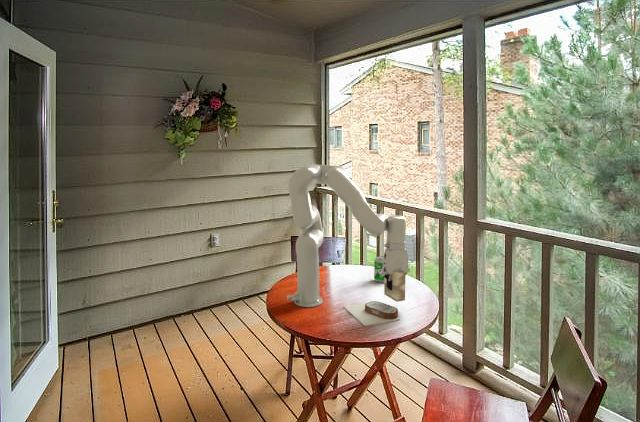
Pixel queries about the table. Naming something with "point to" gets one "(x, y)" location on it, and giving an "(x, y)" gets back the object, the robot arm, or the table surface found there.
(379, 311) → the tin
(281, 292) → the table surface
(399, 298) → the beige box
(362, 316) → the mat
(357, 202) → the robot arm
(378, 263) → the soda can
